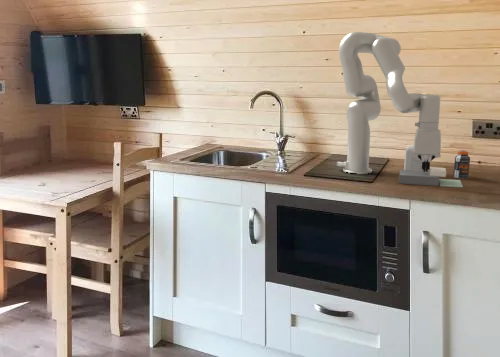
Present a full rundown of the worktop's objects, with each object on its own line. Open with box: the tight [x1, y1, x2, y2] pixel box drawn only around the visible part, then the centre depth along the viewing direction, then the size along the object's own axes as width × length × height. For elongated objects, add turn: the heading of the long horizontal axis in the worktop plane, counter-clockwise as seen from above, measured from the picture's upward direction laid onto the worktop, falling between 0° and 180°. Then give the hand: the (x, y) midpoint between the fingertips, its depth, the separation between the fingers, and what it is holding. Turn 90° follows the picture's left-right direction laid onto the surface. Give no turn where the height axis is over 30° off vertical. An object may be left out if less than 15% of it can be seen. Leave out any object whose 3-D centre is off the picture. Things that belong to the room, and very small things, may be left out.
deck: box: [398, 169, 440, 187], centre depth 216 cm, size 15×11×4 cm
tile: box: [428, 166, 447, 178], centre depth 213 cm, size 6×8×2 cm
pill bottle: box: [453, 149, 471, 179], centre depth 223 cm, size 6×6×11 cm
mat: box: [438, 178, 464, 188], centre depth 213 cm, size 8×12×1 cm
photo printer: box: [403, 144, 428, 171], centre depth 232 cm, size 10×4×12 cm, turn 67°
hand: (425, 171), depth 214 cm, fingers closed
